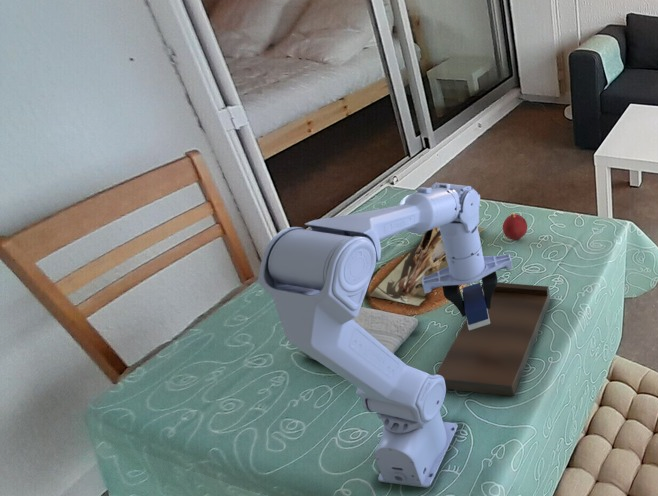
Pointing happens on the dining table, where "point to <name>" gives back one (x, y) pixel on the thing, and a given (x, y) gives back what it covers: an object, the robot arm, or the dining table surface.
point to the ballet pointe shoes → (415, 270)
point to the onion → (514, 227)
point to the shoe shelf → (497, 342)
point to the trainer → (475, 306)
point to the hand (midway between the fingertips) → (476, 308)
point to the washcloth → (385, 327)
